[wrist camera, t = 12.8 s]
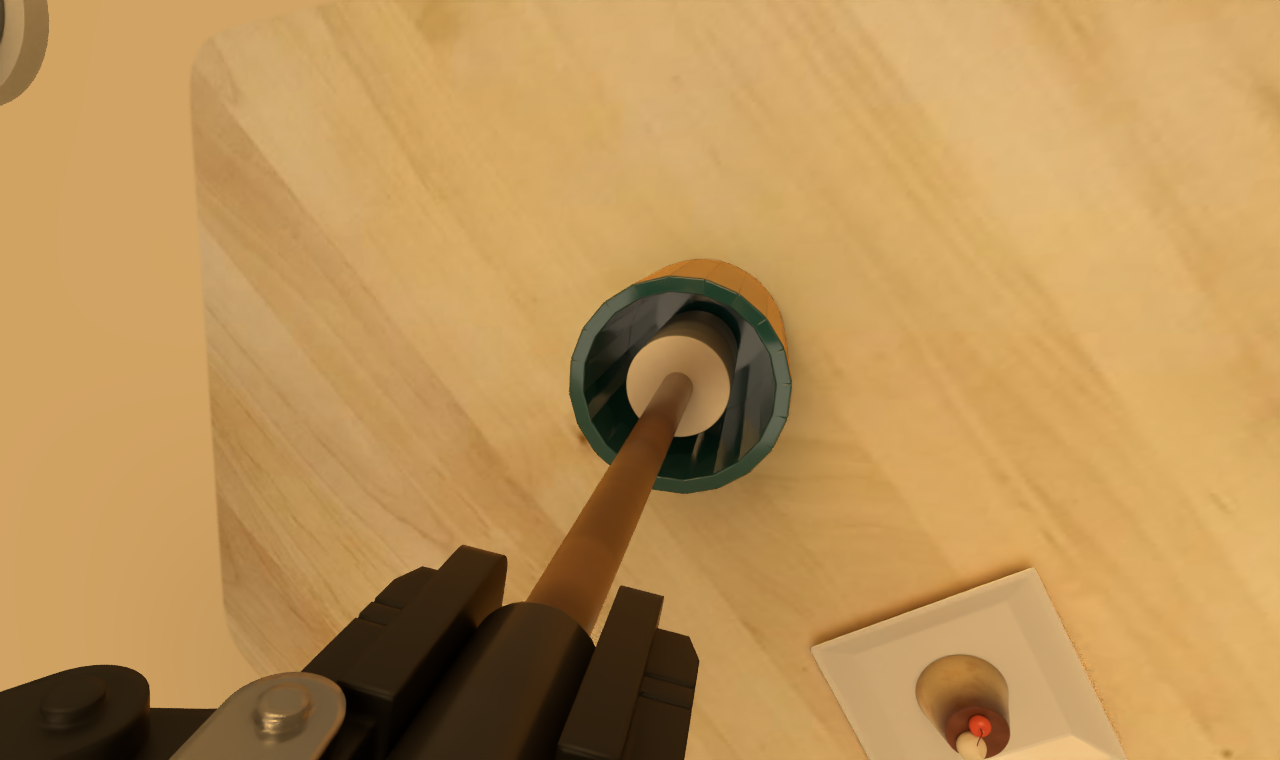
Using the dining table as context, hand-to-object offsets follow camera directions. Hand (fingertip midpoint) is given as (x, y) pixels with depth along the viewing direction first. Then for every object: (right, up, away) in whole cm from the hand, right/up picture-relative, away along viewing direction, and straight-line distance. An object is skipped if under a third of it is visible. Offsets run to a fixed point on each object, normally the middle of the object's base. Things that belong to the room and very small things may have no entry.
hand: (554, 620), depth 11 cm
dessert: (+19, -13, +27) cm, 35 cm away
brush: (+4, +5, +22) cm, 23 cm away
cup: (+5, +6, +25) cm, 26 cm away
